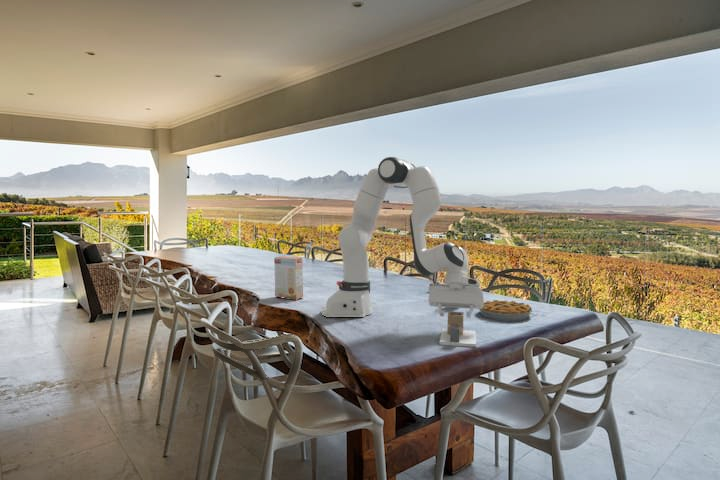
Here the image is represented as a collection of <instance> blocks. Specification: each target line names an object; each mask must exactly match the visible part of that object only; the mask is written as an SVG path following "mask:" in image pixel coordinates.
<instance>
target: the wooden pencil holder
mask: <svg viewBox="0 0 720 480" xmlns="http://www.w3.org/2000/svg"><path fill="white" fill-rule="evenodd" d="M454 313H458V315H454ZM451 324H454V325H460V330H459V335H463V330H464V311H447V329H448V334H449V335H450V327H451Z"/></svg>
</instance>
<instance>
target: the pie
mask: <svg viewBox="0 0 720 480" xmlns="http://www.w3.org/2000/svg"><path fill="white" fill-rule="evenodd" d="M478 310H479V311H480V314H481V316H483V317H485V318H488V319H492V320H498V321H505V322H515V321H523V320H526V319H527V318H529V316H530V314H531V313H532V312H533V309H532V307H531V306H530V305H529V304H525V303H524V302H520V303H519V302H516V301H507V300H497V299H495V300H492V301H490V300H486V301H484V307H483V308H482V309H478Z"/></svg>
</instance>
